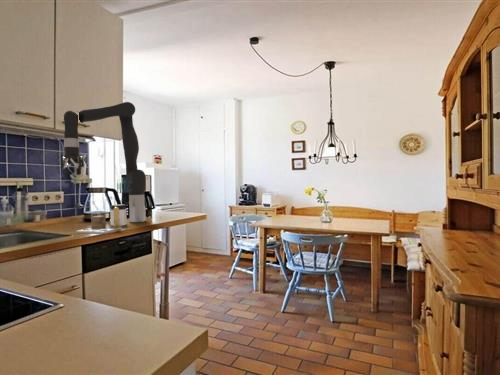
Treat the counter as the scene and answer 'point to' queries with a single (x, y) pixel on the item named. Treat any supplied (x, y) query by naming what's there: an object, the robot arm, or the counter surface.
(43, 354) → the counter surface
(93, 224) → the walnut block
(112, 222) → the jar
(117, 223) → the brass post
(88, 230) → the drilled plate
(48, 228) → the counter surface
